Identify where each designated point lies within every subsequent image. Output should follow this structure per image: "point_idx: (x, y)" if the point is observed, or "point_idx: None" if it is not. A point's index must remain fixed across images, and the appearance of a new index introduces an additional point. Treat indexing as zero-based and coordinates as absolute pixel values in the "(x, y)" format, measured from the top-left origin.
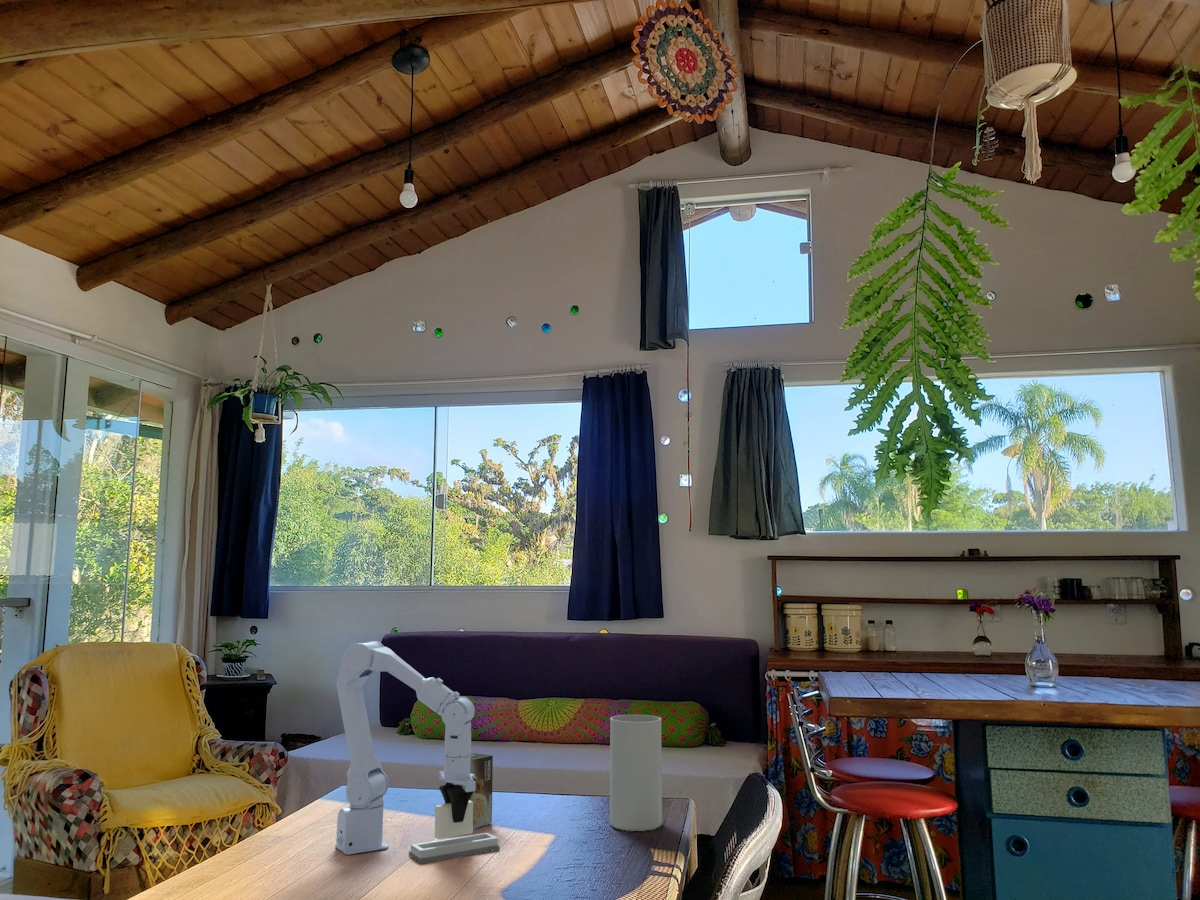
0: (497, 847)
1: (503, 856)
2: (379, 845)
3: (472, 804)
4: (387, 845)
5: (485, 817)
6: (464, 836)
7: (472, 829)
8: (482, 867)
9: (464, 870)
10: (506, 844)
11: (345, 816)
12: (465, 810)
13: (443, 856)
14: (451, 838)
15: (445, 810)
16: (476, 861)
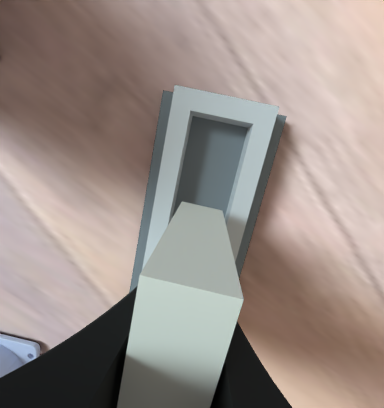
0: (282, 126)
1: (349, 159)
2: (20, 363)
3: (237, 287)
4: (28, 346)
5: None
6: (160, 197)
7: (222, 215)
8: (376, 280)
9: (351, 328)
10: (245, 46)
11: None
12: (249, 347)
13: None
14: (149, 247)
15: None
16: (315, 255)
